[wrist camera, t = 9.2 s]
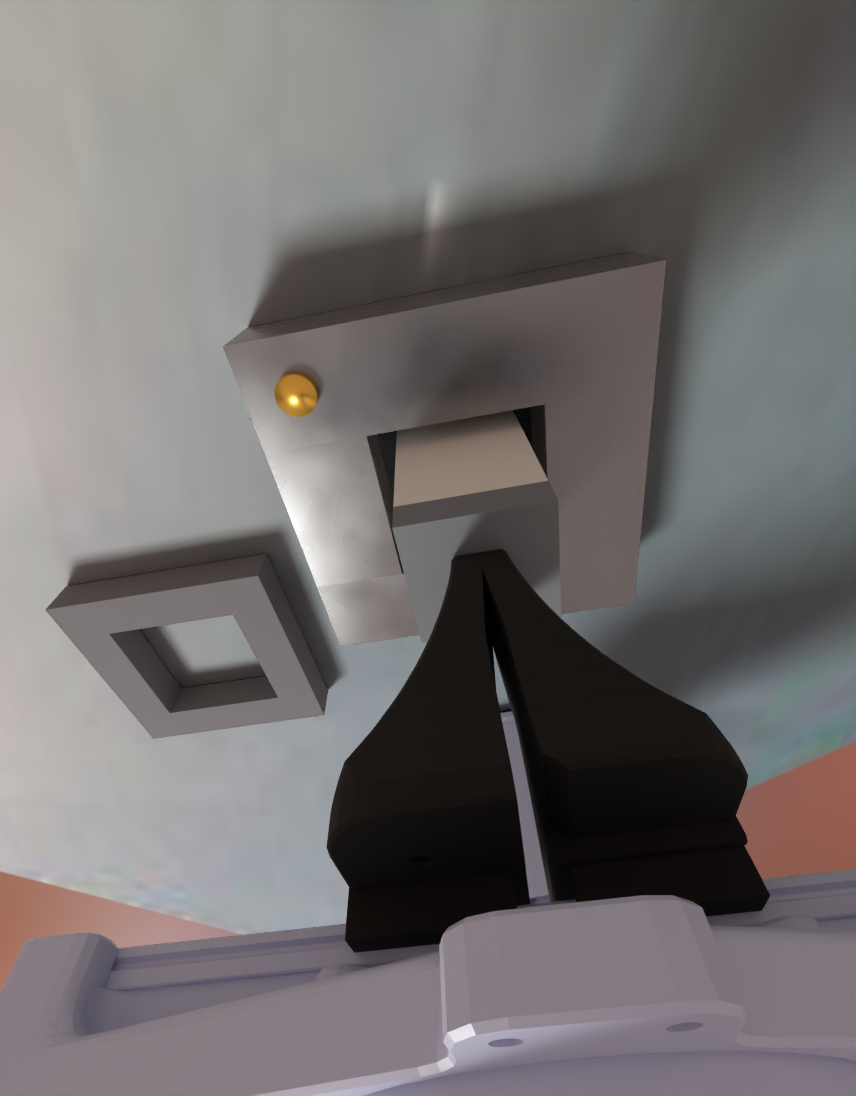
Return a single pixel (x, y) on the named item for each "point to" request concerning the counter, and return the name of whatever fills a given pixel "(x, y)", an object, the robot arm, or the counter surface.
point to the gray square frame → (181, 596)
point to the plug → (472, 507)
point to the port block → (457, 393)
